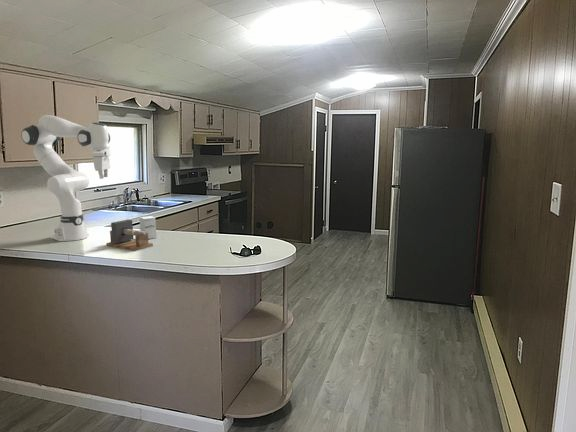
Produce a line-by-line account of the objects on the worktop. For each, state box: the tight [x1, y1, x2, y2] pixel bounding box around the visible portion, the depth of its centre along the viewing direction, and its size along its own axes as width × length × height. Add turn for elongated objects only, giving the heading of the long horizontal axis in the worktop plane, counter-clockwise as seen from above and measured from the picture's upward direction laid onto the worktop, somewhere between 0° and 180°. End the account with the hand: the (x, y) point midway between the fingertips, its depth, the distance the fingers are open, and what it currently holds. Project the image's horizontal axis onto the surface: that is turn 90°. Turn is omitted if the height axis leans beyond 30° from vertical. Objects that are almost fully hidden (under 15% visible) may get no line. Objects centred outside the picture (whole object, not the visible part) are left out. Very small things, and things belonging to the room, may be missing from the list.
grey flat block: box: [110, 218, 135, 243], centre depth 256 cm, size 4×11×11 cm, turn 148°
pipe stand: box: [105, 228, 154, 252], centre depth 254 cm, size 24×12×10 cm, turn 58°
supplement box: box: [139, 215, 158, 240], centre depth 273 cm, size 7×7×13 cm
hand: (103, 177), depth 254 cm, fingers open, 8 cm apart
